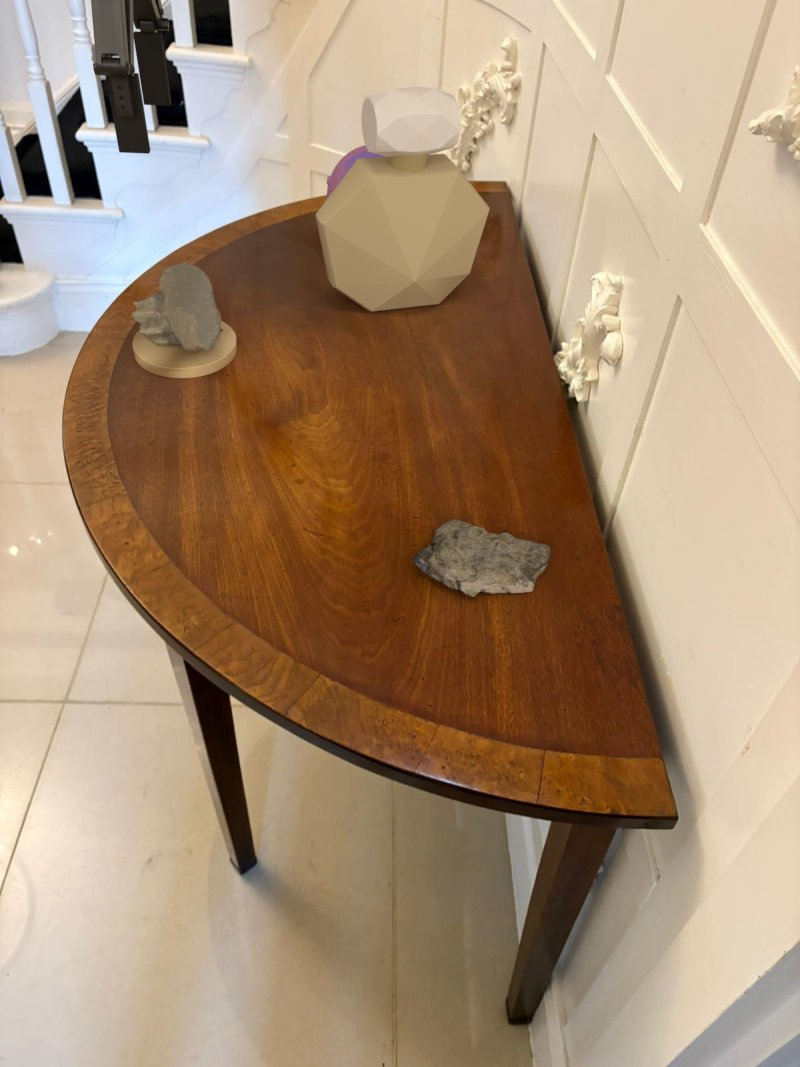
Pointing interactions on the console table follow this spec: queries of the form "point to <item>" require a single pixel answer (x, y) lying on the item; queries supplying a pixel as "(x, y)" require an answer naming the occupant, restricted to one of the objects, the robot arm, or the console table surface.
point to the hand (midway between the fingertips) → (147, 126)
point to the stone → (482, 560)
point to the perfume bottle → (403, 206)
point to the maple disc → (185, 356)
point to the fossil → (181, 310)
